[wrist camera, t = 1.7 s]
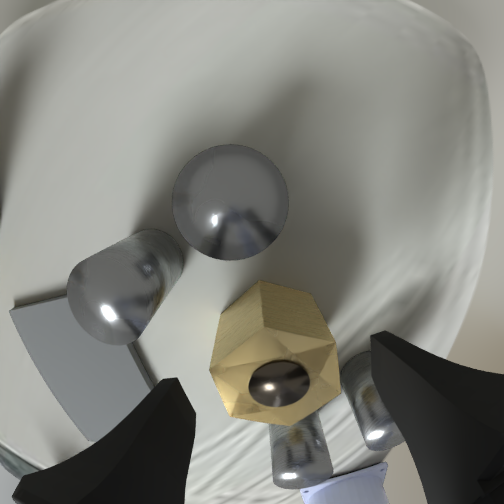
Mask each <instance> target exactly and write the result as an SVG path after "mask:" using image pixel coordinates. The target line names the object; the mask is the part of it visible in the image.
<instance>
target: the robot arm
mask: <svg viewBox="0 0 504 504" xmlns="http://www.w3.org/2000/svg"><path fill="white" fill-rule="evenodd" d="M370 338H371V377H372V379H373V382H374V384H375V387H376V389H377V391H378V394H379V396H380V398H381V400H382V402H383V403H384V405H385V407H386V408H387V410H388V412H389V413H390V415H391V417H392V419H393V420H394V422H395V424H396V425H397V427H398V429H399V430H400V432H401V434H402V436H403V437H404V439H405V441H406V443H407V445H408V447H409V450H410V452H411V455H412V457H413V460H414V462H415V465H416V468H417V470H418V473H419V476H420V479H421V482H422V485H423V488H424V492H425V496H426V499H427V503H428V504H504V374H498V373H492V372H485V371H481V370H477V369H473V368H470V367H466V366H462V365H459V364H456V363H453V362H451V361H448V360H446V359H443V358H441V357H438V356H436V355H434V354H431V353H429V352H427V351H425V350H423V349H421V348H419V347H417V346H415V345H413V344H411V343H409V342H407V341H405V340H403V339H401V338H399V337H397V336H395V335H394V334H392V333H390V332H388V331H382V332H379V333H376V334H373V335H370ZM195 428H196V412H195V411H194V409H193V407H192V405H191V403H190V401H189V399H188V398H187V396H186V394H185V392H184V390H183V388H182V386H181V384H180V382H179V380H178V378H177V377H176V378H167V379H162V380H161V381H160V382H159V383H158V384H157V385H156V386H155V387H154V388H153V389H152V390H151V391H150V392H149V394H148V395H147V396H146V397H145V398H144V399H143V400H142V401H141V402H140V403H139V404H138V405H137V406H136V407H135V408H134V409H133V410H132V411H131V412H130V413H129V414H128V415H127V416H126V417H125V418H124V419H123V420H122V421H121V422H120V423H119V424H118V425H117V426H116V427H114V428H113V429H112V430H111V431H110V432H109V433H107V434H106V435H105V436H104V437H102V438H101V439H100V440H98V441H97V442H96V443H94V444H93V445H92V446H90V447H88V448H87V449H85V450H84V451H82V452H80V453H79V454H77V455H75V456H74V457H72V458H70V459H68V460H66V461H64V462H62V463H60V464H57V465H55V466H52V467H50V468H47V469H44V470H41V471H38V472H35V473H31V474H28V475H24V476H23V477H22V479H21V481H20V482H19V484H18V486H17V488H16V489H15V491H14V493H13V495H12V498H13V500H14V501H15V502H16V503H17V504H184V501H185V486H186V479H187V474H188V469H189V464H190V459H191V454H192V449H193V444H194V438H195ZM387 467H388V464H387V462H382V463H379V464H377V465H374V466H371V467H368V468H365V469H362V470H359V471H356V472H353V473H349V474H346V475H342V476H339V477H335V478H331V479H327V480H326V481H324V482H322V483H320V484H318V485H315V486H312V487H308V488H303V489H300V492H301V495H302V498H303V501H304V504H389V501H388V498H387V496H386V493H385V490H384V488H383V482H384V479H385V475H386V471H387Z"/></svg>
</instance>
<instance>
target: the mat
mask: <svg viewBox="0 0 504 504" xmlns="http://www.w3.org/2000/svg"><path fill="white" fill-rule="evenodd" d="M9 313H10V316H11V318H12V320H13V322H14V325H15V327H16V329H17V331H18V333H19V335H20V337H21V339H22V341H23V343H24V345H25V347H26V349H27V351H28V353H29V355H30V357H31V359H32V360H33V362H34V364H35V366H36V367H37V369H38V371H39V373H40V374H41V376H42V377H43V379H44V381H45V382H46V384H47V386H48V387H49V389H50V390H51V392H52V393H53V395H54V396H55V398H56V399H57V401H58V402H59V404H60V405H61V406H62V408H63V409H64V411H65V412H66V413H67V415H68V416H69V417H70V419H71V420H72V421H73V423H74V424H75V425H76V427H77V428H78V429H79V430H80V432H81V433H82V434H83V435H84V436H85V438H86V439H87V440H88V441H93V442H97V441H98V440H100V439H101V438H102V437H104V436H105V435H106V434H107V433H109V432H110V431H111V430H112V429H113V428H114V427H116V426H117V425H118V424H119V423H120V422H121V421H122V420H123V419H124V418H125V417H126V416H127V415H128V414H129V413H130V412H131V411H132V410H133V409H134V408H135V407H136V406H137V405H138V404H139V403H140V402H141V401H142V400H143V399H144V398H145V397H146V396H147V395H148V394H149V392H150V391H151V390H152V389H153V388H154V385H153V383H152V381H151V380H150V378H149V376H148V374H147V372H146V370H145V368H144V366H143V364H142V362H141V360H140V358H139V356H138V354H137V352H136V350H135V348H134V346H133V344H132V342H131V343H129V344H126V345H118V346H117V345H110V344H106V343H103V342H101V341H99V340H97V339H95V338H93V337H92V336H91V335H89V334H88V333H87V332H86V331H85V330H84V329H83V328H82V327H81V326H80V325H79V323H78V322H77V320H76V319H75V317H74V315H73V313H72V311H71V309H70V306H69V302H68V297H67V295H64V296H60V297H56V298H52V299H48V300H43V301H39V302H35V303H31V304H27V305H23V306H19V307H15V308H13V309H11V310H10V311H9Z"/></svg>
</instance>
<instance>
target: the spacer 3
mask: <svg viewBox="0 0 504 504" xmlns="http://www.w3.org/2000/svg"><path fill="white" fill-rule="evenodd" d="M269 432H270V446H271V459H272V472H273V482H274V484H275V485H277V486H278V487H281V488H285V489H303V488H308V487H312V486H315V485H318V484H320V483H322V482H324V481H326V480H327V479H329V478H330V477H331V476H332V474H333V466H332V463H331V459H330V455H329V451H328V447H327V444H326V440H325V436H324V432H323V429H322V425H321V421H320V418H319V414H318V410H316V411H314V412H313V413H311V414H309V415H308V416H306V417H305V418H303V419H301V420H300V421H298V422H297V423H295V424H293V425H291V426H285V425H277V424H270V423H269Z"/></svg>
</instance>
